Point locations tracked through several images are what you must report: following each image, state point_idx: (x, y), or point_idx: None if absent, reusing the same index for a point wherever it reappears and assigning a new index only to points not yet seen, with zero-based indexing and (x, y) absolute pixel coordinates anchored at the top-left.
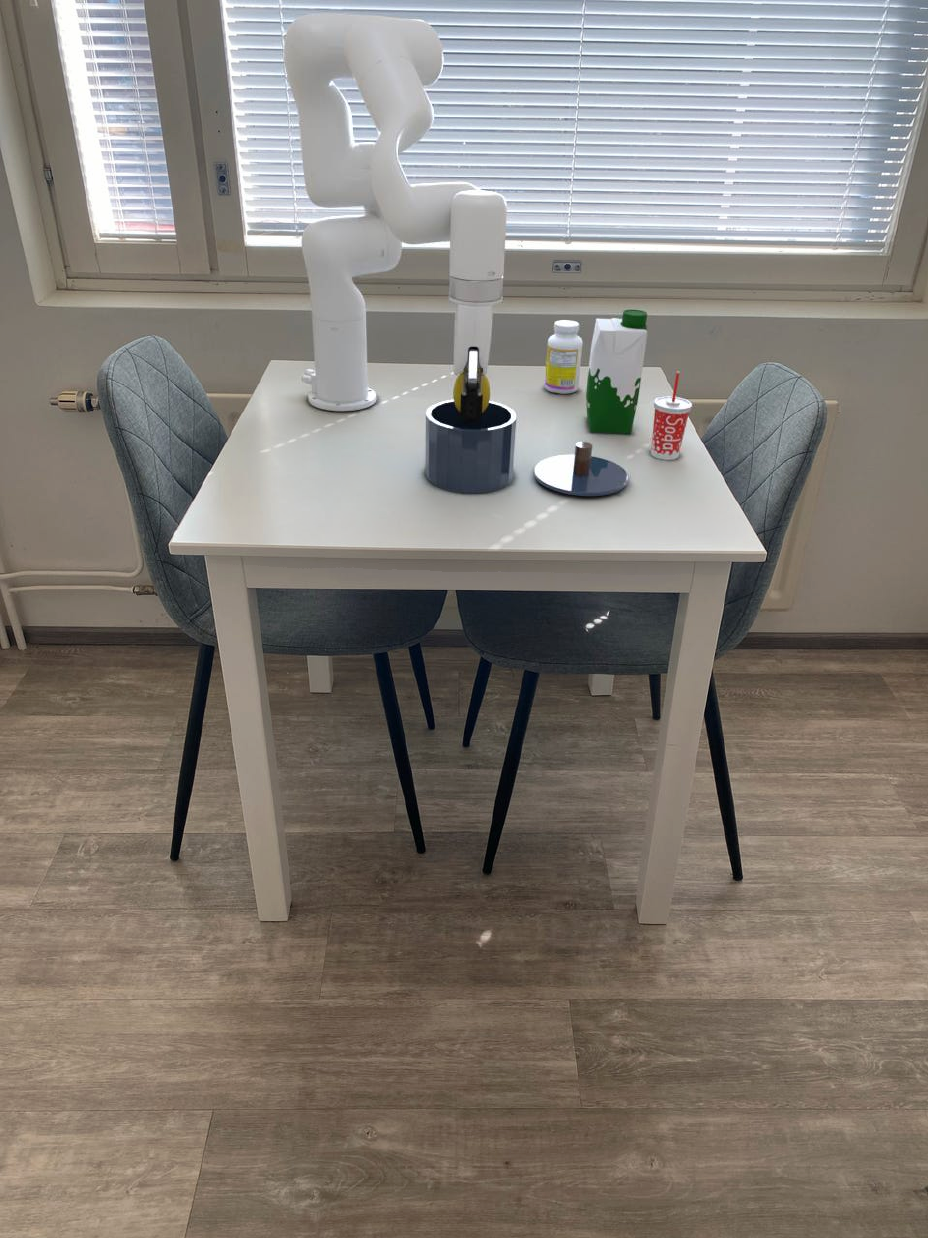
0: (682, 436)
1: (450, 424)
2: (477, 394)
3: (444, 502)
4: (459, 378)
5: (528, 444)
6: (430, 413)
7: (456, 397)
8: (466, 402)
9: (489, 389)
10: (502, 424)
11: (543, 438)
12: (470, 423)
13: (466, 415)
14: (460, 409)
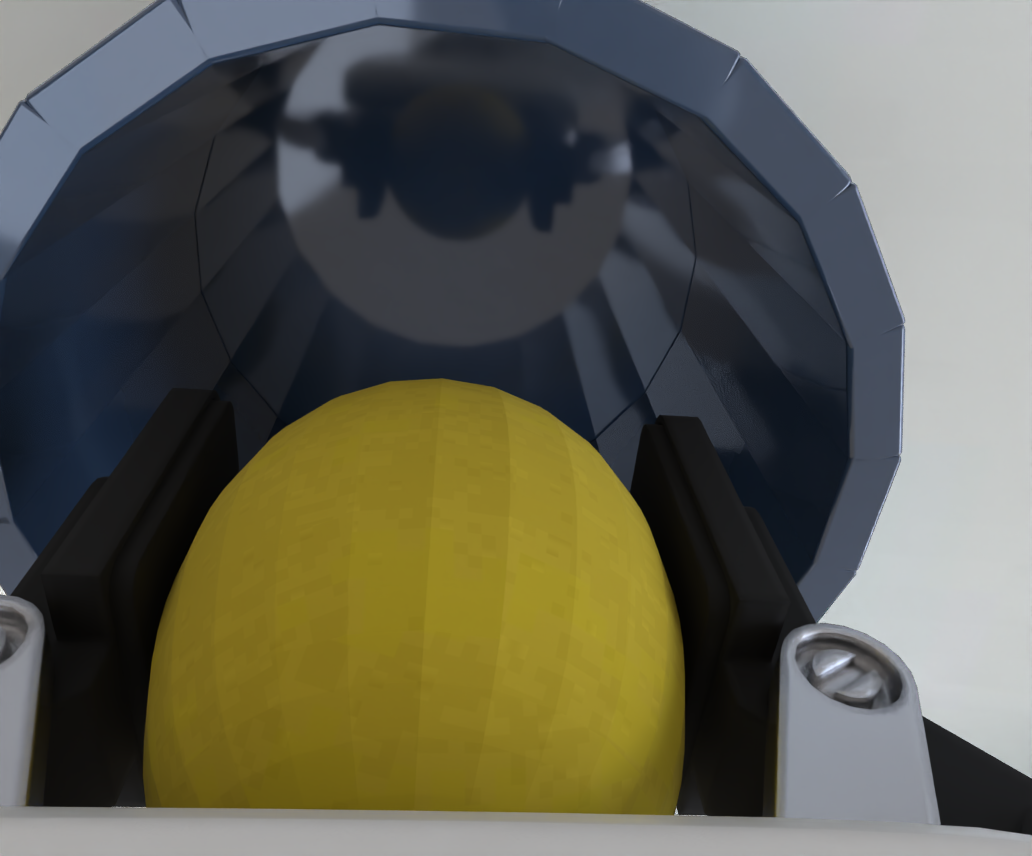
0: None
1: (747, 226)
2: (131, 758)
3: (4, 83)
4: (299, 695)
5: (862, 593)
6: (417, 16)
7: (269, 460)
8: (24, 583)
9: None
10: None
11: (922, 658)
12: (760, 392)
13: (103, 482)
14: (129, 448)
